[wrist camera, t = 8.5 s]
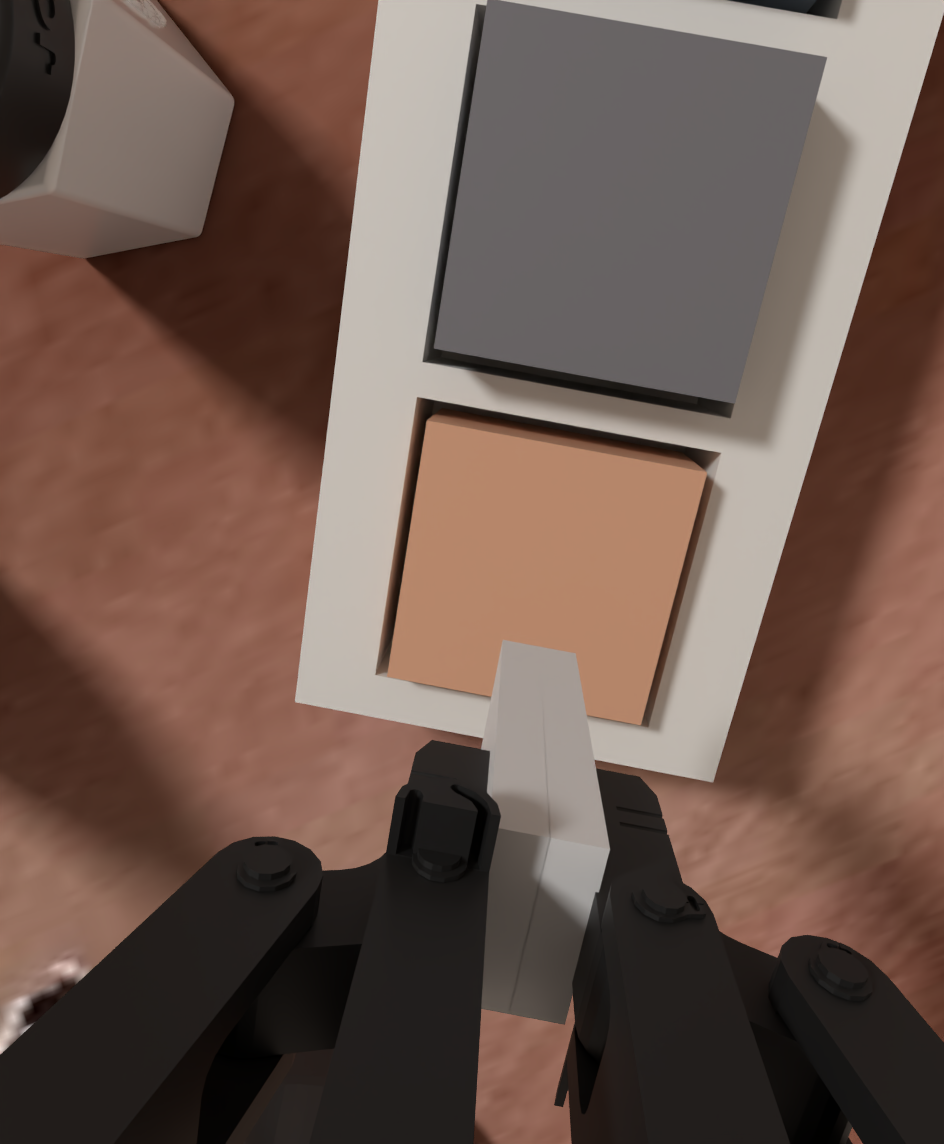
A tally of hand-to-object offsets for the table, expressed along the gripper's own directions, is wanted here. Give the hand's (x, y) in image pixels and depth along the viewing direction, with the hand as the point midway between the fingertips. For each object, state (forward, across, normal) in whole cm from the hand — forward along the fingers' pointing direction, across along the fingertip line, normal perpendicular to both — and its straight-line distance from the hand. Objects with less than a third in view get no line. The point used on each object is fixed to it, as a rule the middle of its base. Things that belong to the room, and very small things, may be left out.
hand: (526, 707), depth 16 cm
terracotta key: (+12, 0, -1) cm, 12 cm away
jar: (+15, +17, -12) cm, 25 cm away
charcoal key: (+11, 0, -11) cm, 15 cm away
